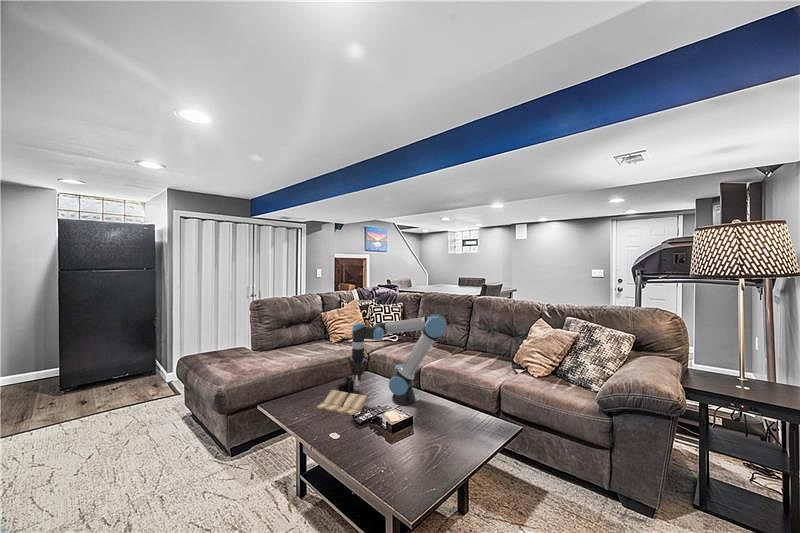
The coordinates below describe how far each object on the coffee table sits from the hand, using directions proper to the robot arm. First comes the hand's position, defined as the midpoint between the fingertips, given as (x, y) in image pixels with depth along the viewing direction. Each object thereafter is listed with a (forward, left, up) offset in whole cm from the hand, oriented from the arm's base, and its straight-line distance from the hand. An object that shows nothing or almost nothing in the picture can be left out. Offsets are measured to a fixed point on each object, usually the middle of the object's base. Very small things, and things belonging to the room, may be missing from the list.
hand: (357, 385), depth 210 cm
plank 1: (+14, +3, -10) cm, 17 cm away
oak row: (+7, +11, -13) cm, 18 cm away
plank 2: (0, +3, -10) cm, 10 cm away
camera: (+19, -15, -13) cm, 27 cm away
